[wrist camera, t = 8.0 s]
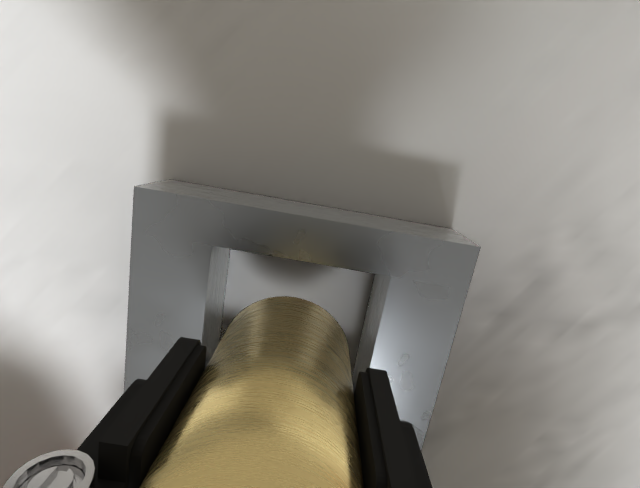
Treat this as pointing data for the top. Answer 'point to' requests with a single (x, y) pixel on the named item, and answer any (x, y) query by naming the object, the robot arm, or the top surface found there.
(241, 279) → the top surface
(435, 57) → the top surface
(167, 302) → the frame
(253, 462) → the pale yellow cylinder
